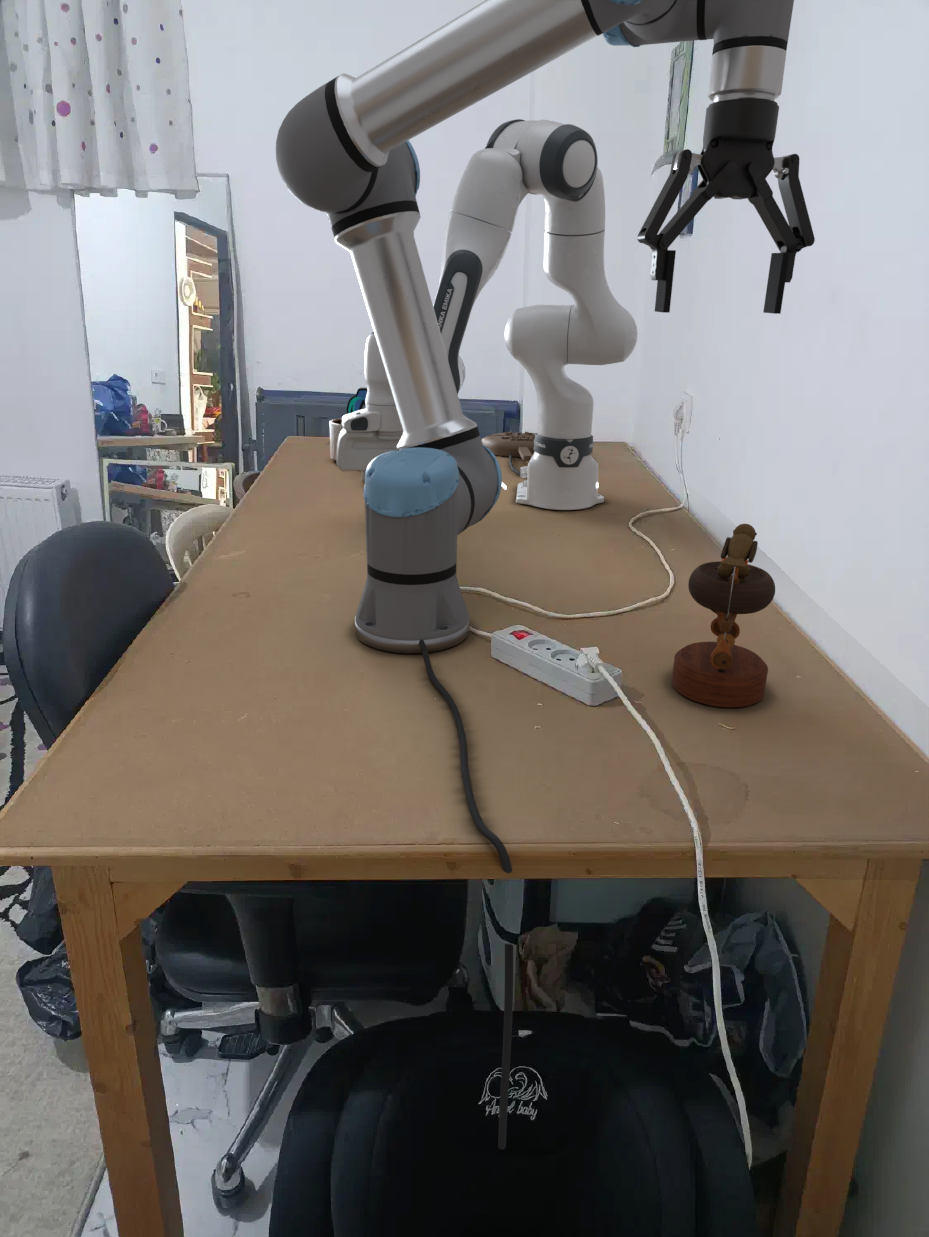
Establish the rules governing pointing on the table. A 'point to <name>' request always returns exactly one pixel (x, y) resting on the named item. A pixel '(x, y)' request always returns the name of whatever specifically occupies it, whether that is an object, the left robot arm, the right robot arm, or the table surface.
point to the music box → (726, 628)
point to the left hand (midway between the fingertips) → (717, 313)
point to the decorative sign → (357, 401)
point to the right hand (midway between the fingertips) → (391, 492)
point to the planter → (334, 436)
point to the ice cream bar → (511, 444)
